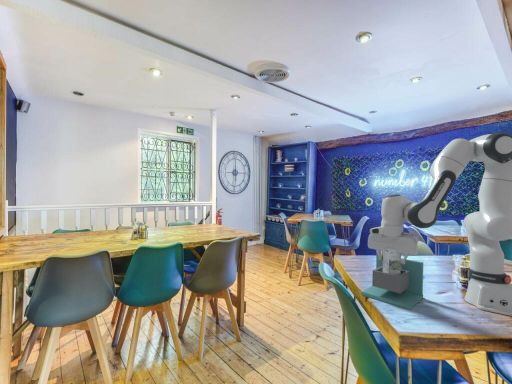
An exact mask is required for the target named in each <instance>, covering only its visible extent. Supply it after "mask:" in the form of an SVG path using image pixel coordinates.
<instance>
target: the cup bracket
mask: <svg viewBox="0 0 512 384" xmlns="http://www.w3.org/2000/svg"><path fill="white" fill-rule="evenodd" d="M375 256H376V260H375V261H376V262H375V263H376V264H375V265H376V266H375V269H374V268H373V270H372V274H371V275H372V279H371V280H372V283H371V286H369V287H366V288H365V289H364V290H362V291H361V296H364V297H367V298H371V299H374V300H377V301H380V302H383V303H387V304H390V305H393V306H397V307H398V308H399V307H400V308H404V309H407V310H410V311H411V310H412V309H413V308H414V307H415V306H416V305H417V304H419V302H420V301H421V300H422V299H423V298H424V262H423V261H418V260H413V259H412V260H411V259H408V258H407V259H406V260H405V264H401V275H399V276H398V275H394V274H389V273H385V272H382V260H379V256H378V254H377V253H376V255H375ZM381 256H382V254H381ZM401 259H403V258H402V257H401Z"/></svg>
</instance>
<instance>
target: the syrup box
mask: <svg viewBox="0 0 512 384" xmlns="http://www.w3.org/2000/svg"><path fill="white" fill-rule="evenodd" d="M381 255H382V272H385V273H389V274H394V275H398V276H399V275H401V264H400V260H401V258H402V254H400V253H396V251H395V250H394V249H390V248H385V251H382V250H381Z"/></svg>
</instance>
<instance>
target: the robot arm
mask: <svg viewBox="0 0 512 384" xmlns="http://www.w3.org/2000/svg"><path fill="white" fill-rule="evenodd" d="M479 162H480V163H481V162H482V163H483V164H484V173H483V175H482V179H481V182H480V187H479V191H478V194H477V198H478V203H479V211H474V212H471V213H468V214H467V215H466V216H465V217H464V219H463V226H464V228H465V231H466V236H467V241H468V246H469V267H468V270H467V280H468V284H467V288H466V289H467V290H466V293H465V296H464V298H463V299H464V301H466V302H467V303H468V304H471V305H472V306H475V307H476V308H478V309H479V310H482V311H486V312H492V313H497V314H502V315H506V316H510V317H512V284H511V282H512V278H511V276H510V274H507V273H506V272H505V254H504V251H503V250H502V247H501V244H500V241H502V242H503V241H507V240H510V239H511V238H512V134H510V133H506V132H495V133H490V134H489V133H488V134H483V135H480V136H477V137H473V138H470V139H465V138H460V137H459V138H455V139H453V140H451V141H450V142H449V143H447V145H446V146H445V147H444V148H443V149H442V150H441V151H440V152H439V154H437V156H436V158H435V159H434V160H433V162H432V164H431V167H430V169H429V173H430V176H431V178H432V179H433V183H432V185H431V187H430V188H429V190H428V192H427V193H426V195H425V197H424V198H423V199H422V200H420V201H419V202H416V201H413V200H410V199H408V198H406V197H405V196H403V195H402V194H400V193H399V194H389V195H386V196H384V197H383V198H382V202H381V208H380V209H381V210H380V212H381V213H380V214H381V222H380V226H375V227H373V228H370V229H369V233H370V234H369V235H368V237H367V247H368V249H371V250H375V252H376V254H378V256H379V260H382V256H381V255H382V251H385V248H390V249H394V250H395V251H396V253H400V254H401V255H402V257H403V258H402V259H401V260H400V264H405V260H406V259H408V257H409V256H416V255H417V254H418V253H419V249H418V248H419V247H418V244H419V237H418V235H417V234H415V233H413V232H405V231H404V223H408V224H409V225H412V226H414V227H416V228H418V229H428V228H430V227H433V226H434V225H435V224H436V223H437V221H438V217H439V213H440V209H441V207H442V205H443V203H444V202H445V200H446V199H447V197H448V195H449V194H450V192H451V191H452V189H453V187H454V185H455V183H456V181H457V180H458V179H459V177H460V175H462V173H463V171H464V170H465V169H466V167H467V165H468V164H469V163H479Z"/></svg>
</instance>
